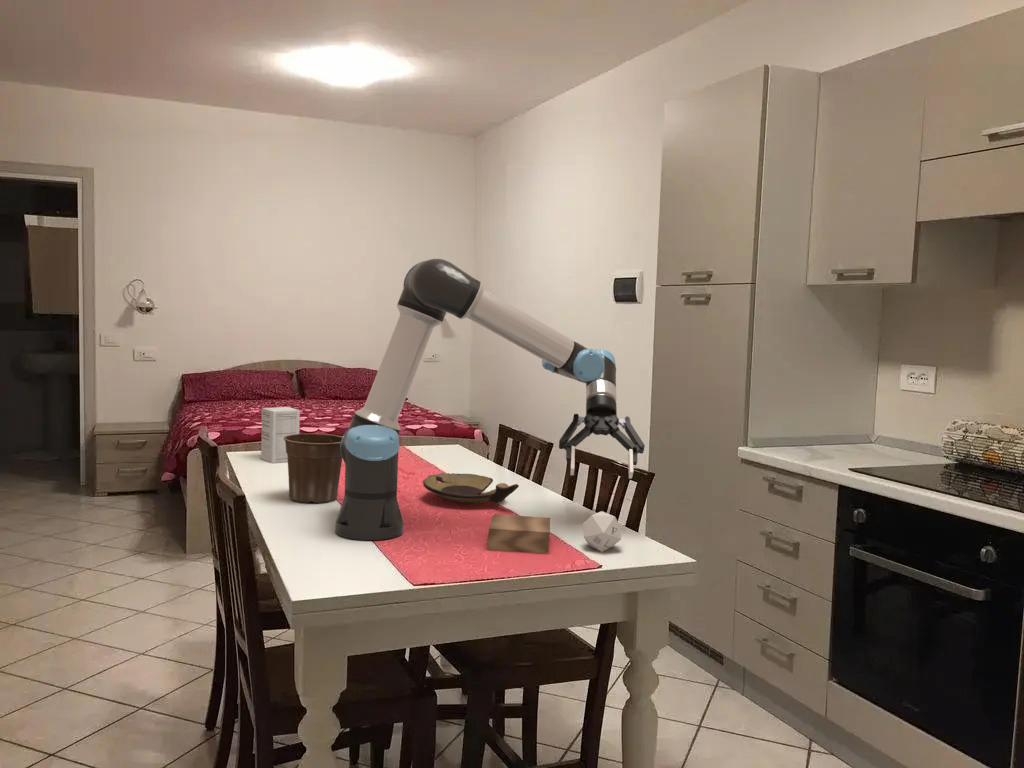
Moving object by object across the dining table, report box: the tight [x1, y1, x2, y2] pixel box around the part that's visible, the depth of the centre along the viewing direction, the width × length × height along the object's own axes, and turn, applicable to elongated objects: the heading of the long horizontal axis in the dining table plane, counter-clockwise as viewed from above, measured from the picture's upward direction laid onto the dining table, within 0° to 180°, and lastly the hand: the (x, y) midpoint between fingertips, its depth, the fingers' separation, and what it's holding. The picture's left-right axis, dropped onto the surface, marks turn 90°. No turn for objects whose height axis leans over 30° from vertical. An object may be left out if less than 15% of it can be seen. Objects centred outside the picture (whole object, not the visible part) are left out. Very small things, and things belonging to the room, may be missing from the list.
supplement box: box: [260, 406, 301, 464], centre depth 266 cm, size 10×9×17 cm
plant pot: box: [284, 432, 343, 504], centre depth 214 cm, size 16×16×16 cm
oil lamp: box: [422, 472, 520, 505], centre depth 219 cm, size 22×30×8 cm
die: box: [582, 510, 622, 553], centre depth 181 cm, size 8×9×10 cm
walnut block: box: [487, 513, 551, 555], centre depth 182 cm, size 13×13×5 cm
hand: (601, 473), depth 191 cm, fingers open, 13 cm apart
